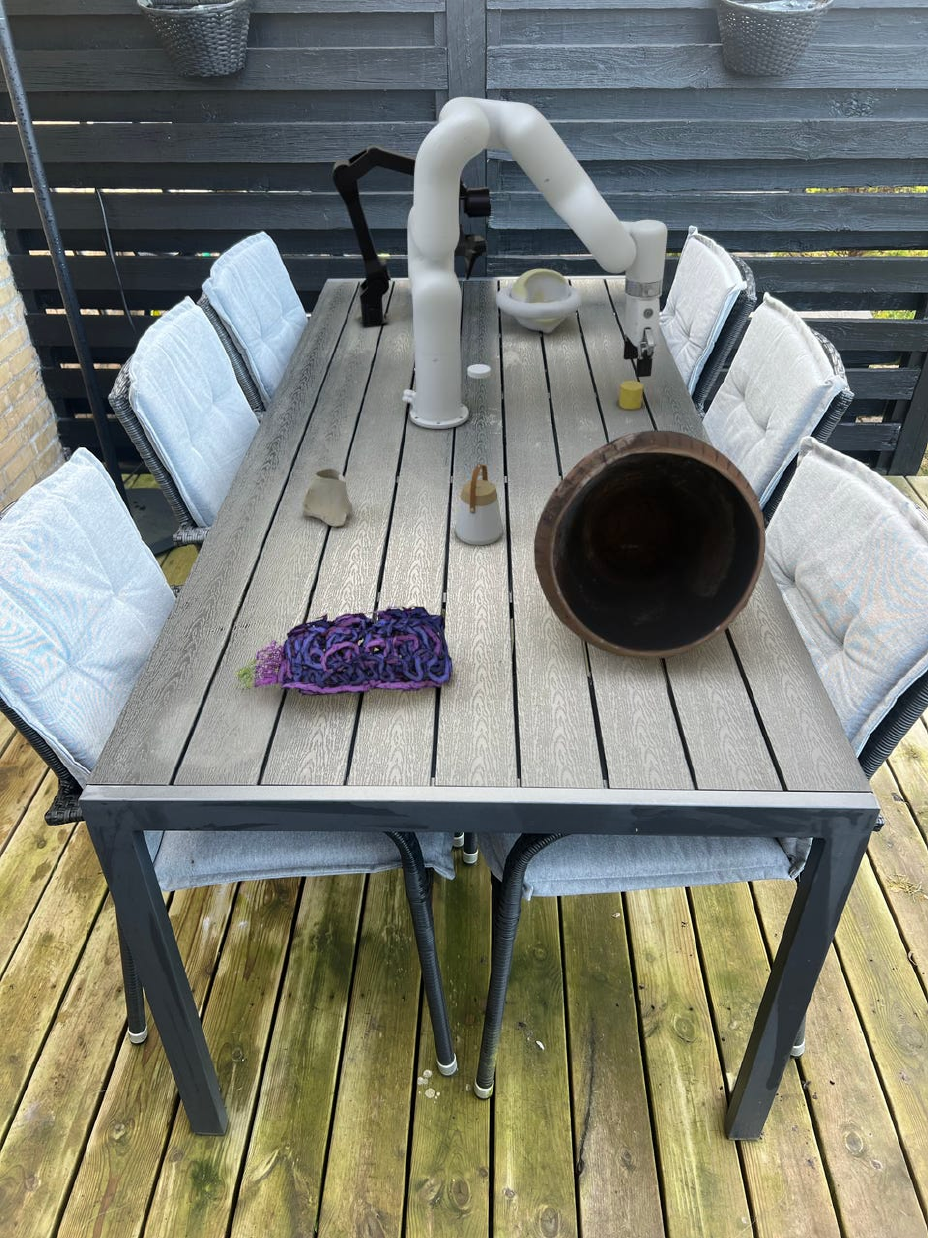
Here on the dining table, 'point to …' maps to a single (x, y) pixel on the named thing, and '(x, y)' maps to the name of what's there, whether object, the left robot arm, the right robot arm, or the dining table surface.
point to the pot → (650, 545)
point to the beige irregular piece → (327, 498)
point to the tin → (631, 395)
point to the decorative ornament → (358, 654)
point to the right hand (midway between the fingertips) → (636, 367)
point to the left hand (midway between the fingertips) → (450, 281)
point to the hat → (539, 299)
